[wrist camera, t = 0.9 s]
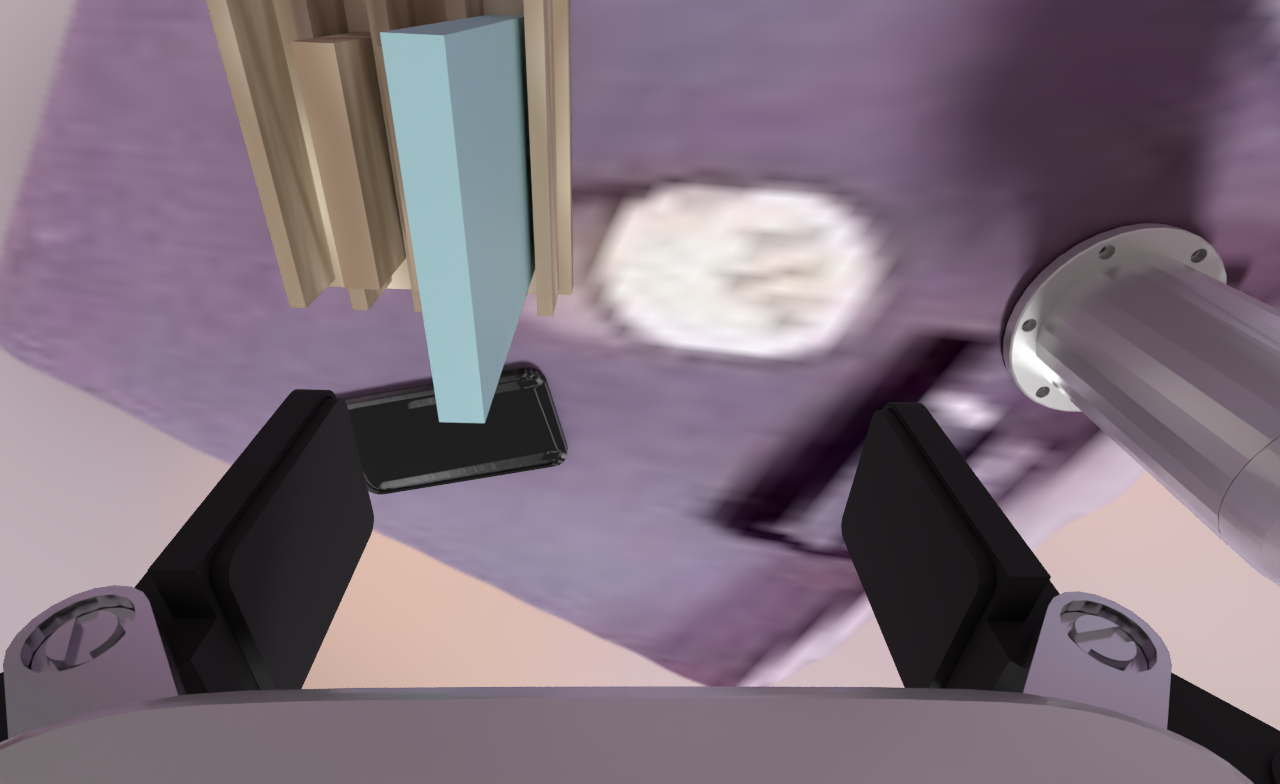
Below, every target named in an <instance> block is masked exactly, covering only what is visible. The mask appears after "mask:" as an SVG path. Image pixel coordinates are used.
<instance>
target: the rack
mask: <svg viewBox="0 0 1280 784" xmlns="http://www.w3.org/2000/svg"><path fill="white" fill-rule="evenodd" d="M206 2H207V6H208V9H209V13H210V17H211V20H212V24H213V28H214V31H215V35H216V38H217V42H218V46H219V49H220V53H221V57H222V60H223V64H224V68H225V71H226V75H227V79H228V82H229V86H230V90H231V93H232V97H233V100H234V104H235V108H236V111H237V115H238V119H239V122H240V126H241V130H242V133H243V137H244V141H245V144H246V148H247V152H248V155H249V159H250V163H251V166H252V170H253V173H254V177H255V181H256V184H257V188H258V192H259V195H260V199H261V203H262V206H263V210H264V214H265V217H266V221H267V225H268V228H269V232H270V235H271V239H272V243H273V246H274V250H275V254H276V257H277V261H278V265H279V268H280V272H281V276H282V279H283V283H284V287H285V290H286V294H287V297H288V301H289V305H290V308H306V307H307V306H309V305H310V304H311V303H312V302H313V301H314V300H315V299H316V298H317V297H318V296H319V295H320V294H321V293H322V292H323V291H324V290H325V289H326V288H327V287H328V286H331V287H344V282H343V278H342V273H341V269H340V264H339V260H338V255H337V251H336V246H335V241H334V237H333V232H332V228H331V223H330V219H329V214H328V210H327V205H326V201H325V196H324V191H323V187H322V182H321V178H320V173H319V169H318V164H317V160H316V155H315V150H314V146H313V141H312V137H311V132H310V128H309V123H308V119H307V114H306V110H305V105H304V100H303V96H302V91H301V87H300V82H299V78H298V73H297V69H296V64H295V59H294V55H293V50H292V46H291V41H296V40H303V39H310V38H316V37H323V36H330V35H337V34H344V33H351V32H370V33H371V39H372V45H373V51H374V58H375V64H376V70H377V77H378V83H379V89H380V95H381V102H382V108H383V114H384V121H385V127H386V133H387V139H388V146H389V152H390V158H391V164H392V171H393V177H394V183H395V190H396V196H397V202H398V208H399V215H400V221H401V227H402V234H403V240H404V246H405V252H406V259H405V260H404V261H403V263H402V264H401V265H400V266H399V267H398V269H397V270H396V271H395V272H394V273H393V275H392V276H391V277H390V278H389V280H388V281H387V282H386V283H385V284H384V286H383V287H382V288H381V289H380V290H373V289H348V290H349V294H350V299H351V303H352V308H353V310H369V309H370V307H371V306H372V305H373V304H374V303H375V301H376V300H377V299H378V298H379V296H380V295H381V294H382V293H383V291H384V290H385V289H386V288H390V289H411V290H412V296H413V303H414V309H415V312H422V306H421V300H420V293H419V291H415V287H414V281H413V274H412V268H411V262H410V255H409V249H408V242H407V236H406V230H405V223H404V217H403V210H402V204H401V198H400V191H399V185H398V178H397V172H396V165H395V159H394V153H393V146H392V140H391V133H390V127H389V121H388V114H387V108H386V101H385V95H384V89H383V82H382V76H381V69H380V63H379V57H378V50H377V45H382V44H381V37H380V32H384V31H390V30H396V29H403V28H409V27H415V26H421V25H427V24H434V23H440V22H446V21H452V20H458V19H465V18H471V17H477V16H483V15H489V14H503V15H522V16H524V26H525V48H526V70H527V92H528V114H529V136H530V158H531V180H532V202H533V224H534V246H535V271H534V274H533V277H532V280H531V283H530V286H529V289H528V292H527V293H536V294H537V312H538V316H553V313H554V309H555V304H556V300H557V295H558V294H565V295H572V290H573V236H572V152H571V68H570V0H206Z"/></svg>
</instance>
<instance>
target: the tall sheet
mask: <svg viewBox="0 0 1280 784" xmlns="http://www.w3.org/2000/svg"><path fill="white" fill-rule="evenodd" d="M380 37H381V44H382V50H383V57H384V63H385V70H386V76H387V83H388V90H389V96H390V103H391V109H392V116H393V122H394V129H395V136H396V142H397V149H398V155H399V162H400V168H401V175H402V181H403V188H404V195H405V201H406V208H407V214H408V221H409V227H410V234H411V241H412V247H413V254H414V260H415V267H416V273H417V280H418V286H419V293H420V300H421V306H422V313H423V319H424V326H425V332H426V339H427V346H428V352H429V359H430V365H431V372H432V378H433V385H434V391H435V398H436V405H437V411H438V418H439V422H453V423H485V421H486V418H487V415H488V412H489V409H490V406H491V403H492V400H493V397H494V394H495V391H496V388H497V384H498V381H499V378H500V375H501V372H502V369H503V366H504V363H505V360H506V357H507V354H508V351H509V348H510V345H511V342H512V338H513V335H514V332H515V329H516V326H517V323H518V320H519V317H520V314H521V311H522V308H523V305H524V302H525V299H526V296H527V292H528V289H529V286H530V283H531V280H532V277H533V274H534V271H535V246H534V224H533V202H532V180H531V158H530V136H529V114H528V92H527V70H526V48H525V26H524V16H522V15H503V14H489V15H483V16H477V17H471V18H465V19H458V20H452V21H446V22H440V23H434V24H427V25H421V26H415V27H409V28H403V29H396V30H390V31H384V32H380Z"/></svg>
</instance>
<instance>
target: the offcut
mask: <svg viewBox="0 0 1280 784" xmlns="http://www.w3.org/2000/svg"><path fill="white" fill-rule="evenodd" d="M291 46H292V50H293V55H294V59H295V64H296V69H297V73H298V78H299V82H300V87H301V91H302V96H303V100H304V105H305V110H306V114H307V119H308V123H309V128H310V132H311V137H312V141H313V146H314V150H315V155H316V160H317V164H318V169H319V173H320V178H321V182H322V187H323V191H324V196H325V201H326V205H327V210H328V214H329V219H330V223H331V228H332V232H333V237H334V241H335V246H336V251H337V255H338V260H339V264H340V269H341V273H342V278H343V282H344V287H345V289H373V290H380V289H381V288H382V287H383V286H384V284H385V283H386V282H387V281H388V280H389V278H390V277H391V276H392V275H393V273H394V272H395V271H396V270H397V269H398V267H399V266H400V265H401V264H402V263H403V261H404V260H405V259H406V252H405V246H404V240H403V234H402V227H401V221H400V215H399V208H398V202H397V196H396V190H395V183H394V177H393V171H392V164H391V158H390V152H389V146H388V139H387V133H386V127H385V121H384V114H383V108H382V102H381V95H380V89H379V83H378V77H377V70H376V64H375V58H374V51H373V45H372V39H371V33H370V32H351V33H344V34H337V35H330V36H323V37H316V38H310V39H303V40H296V41H291Z"/></svg>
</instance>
